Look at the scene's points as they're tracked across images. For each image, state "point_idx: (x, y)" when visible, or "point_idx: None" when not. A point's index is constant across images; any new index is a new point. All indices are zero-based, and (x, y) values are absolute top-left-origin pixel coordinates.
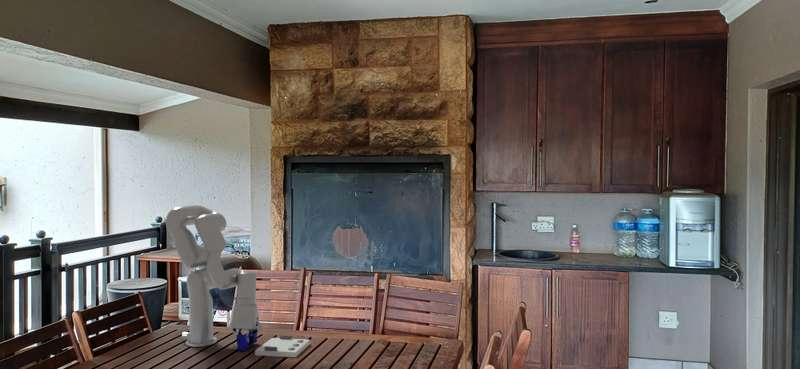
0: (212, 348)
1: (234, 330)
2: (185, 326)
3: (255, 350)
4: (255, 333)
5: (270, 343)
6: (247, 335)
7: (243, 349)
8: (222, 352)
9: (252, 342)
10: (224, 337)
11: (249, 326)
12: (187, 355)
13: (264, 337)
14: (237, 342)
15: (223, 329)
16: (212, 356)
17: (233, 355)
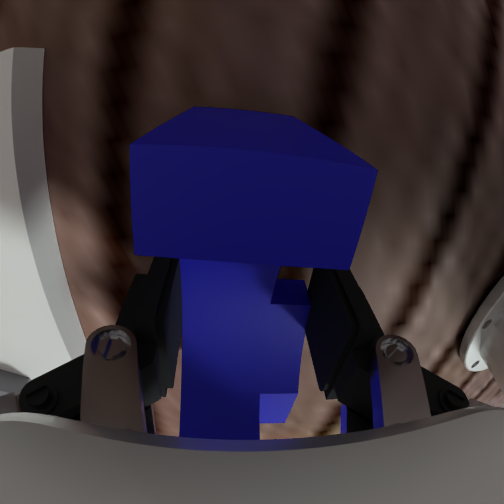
0: (493, 226)
1: (440, 390)
2: (496, 405)
3: (11, 49)
4: (57, 367)
5: (2, 291)
6: (267, 399)
7: (203, 108)
8: (432, 118)
9: (140, 275)
10: None
11: (48, 500)
12: None
13: None
14: None
15: None
16: (471, 23)
17: (293, 5)
